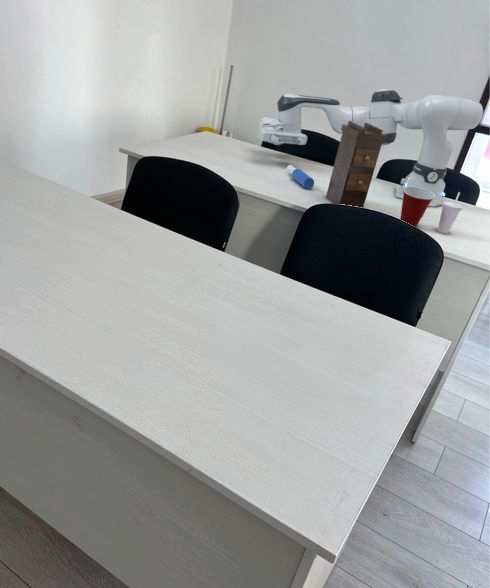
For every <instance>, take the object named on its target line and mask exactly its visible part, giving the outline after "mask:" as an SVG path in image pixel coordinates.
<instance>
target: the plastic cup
mask: <svg viewBox="0 0 490 588" xmlns="http://www.w3.org/2000/svg"><path fill="white" fill-rule="evenodd" d="M403 191H404V194H403V199H402V204H401V211H400V217H399V218H400V219H401V220H403V221H405V222H407V223H409V224H411V225H413V226H415V227H414V228H417V227H418V225H419V223H420V221H421V219H422V218H423V216H424V214H425V213H426V211H427V209H428V207H429V206H428V205H429V204H430V202H431V201H432V199H434V197H435V194H434V193H432V192H431V191H429V190H427V189H423V188H420V187H414V186H408V187H404V188H403ZM400 219H399V220H400Z"/></svg>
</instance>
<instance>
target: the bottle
mask: <svg viewBox="0 0 490 588" xmlns="http://www.w3.org/2000/svg"><path fill="white" fill-rule="evenodd" d="M287 171H288V172H287ZM286 172H287V173H288V174H290V175H291V174H292V175H291V177H292V179H293V180H294V181H295V182H297V183H298V184H299V185H300V186H302V187H303V188H304V189H306V190H311V189H312V188H313V187H314V186H315V180H314V179H313V177H311V176H310V175H309V174H307V173H306V172H304V170H302V169H300V168H296V167H295V166H293V165H292V164H288V165H287V166H286ZM295 179H296V180H295ZM301 184H302V185H301Z"/></svg>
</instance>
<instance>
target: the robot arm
mask: <svg viewBox="0 0 490 588" xmlns="http://www.w3.org/2000/svg"><path fill="white" fill-rule="evenodd" d="M401 100H404V99H403V97H401V96H400V94H399V93H398V92H397V90H395V89H391V88H381V89H378V90H377V91H373V93H372V95H371V98H370V106H366V105H365V106H364V105H353V106H351V105H350V106H348V105H347V106H346V105H343V104H341V103H340V100H338V99H335V98H330V97H322V96H313V95H311V96H310V95H302V94H295V93H290V92H289V93H285V94H282V95H281V96H280V97H279V98H278V101H277V103H276V105H277V111H278V119H277V118H275V117H273V116H264V117H262V118H261V119H260V121H259V123H258V133H257V140H258V141H261V142H266V143H270V144H273V145H275V146H280V145H283V144H289V145H299V146H304V145H306V144H307V143H308V136H307V135H306V134H304V133H302V108H311V109H312V108H313V109H321V110H322V111H323V112H324V113H325V115H326V116H327V119H328V122H329V126H330V127H331V129H332V130H333V131H334V132H335V133H337V134H339V135H342V132H343V131H342V130H341V128H342V124H344V125H348V122H349V121H352V122H354V123H356V124H358V125H360V126H362V127H364V124H365V123H369V124H371V125H373V126H375V127H377V128H379V129H381V130H383V131H382V133H383V134H385V135H387V136H386V139H385V141H383V142H382V146H381V147H384V146H388V145H390V144H392V143H394V142H395V141H396V138H397V135H398V133H397V130H398V129H397V128H398V125H399V126H400V127H402V128H404V129H408V130H415V131H416V130H417V131H418V130H422V133H423V136H422V138H423V140H422V145H421V149H420V152H419V156H418V159H417V161H416V162H415V163H414V165H413V168H412V171H411V172H410V173H409V174H407V176H405V178H403V177H402V178H401V180H400V185H402V186H400V185H399V186H396V188H395V197H396V198H399V199H401V200H403V194H404V191H403V188H404V187H408V186H414V187H420V188H423V189H427V190H429V191H431V192H432V193H434V194H435V197H434V199H432V201H431V202H430V204H429V205H428V207H437V206H442V205H443V202H444V201H443V200H442V198H443V197H445V195H446V193H445V192H444V191H445V188H446V182H445V181H444V179H445V177H446V174H447V171H448V168H447V167H448V164H449V161H450V159H451V156H452V153H453V144H452V143H451V142H450V140H449V139H448V138H447V134H448V133H447V132H448V131H467V130H473V129H475V128H477V126H479V124H480V123H481V122H482V120H483V115H484V109H483V108H484V107H483V105H482V103H481V102H478V101H476V100H474V99H472V98H471V99H470V98H468V97H467V98H466V97H458V96H451V95H445V94H431V95H426V96H424V97H423V98H421V99H417V100H416V99H415V100H412V101H409V102H402V101H401Z"/></svg>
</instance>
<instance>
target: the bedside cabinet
mask: <svg viewBox="0 0 490 588" xmlns="http://www.w3.org/2000/svg"><path fill="white" fill-rule="evenodd" d="M341 130H342V131H343V132H342V134H341V137H340V140H339V145H338V148H337V152H336V156H335V160H334V164H333V168H332V172H331V175H330V180H329V183H328V187H327V191H326V195H325V198H326V199H327V200H328V201H330V202H332V203H333V204H334V205H335V204H345V205H352V206H358V207H363V208H364V207H365V203H366V200H367V196H368V194H369V193H368V192H369V190H370V186H371V183H372V179H373V176H374V173H375V169H376V166H377V162H378V159H379V155H380V152H381V149H382V147H383V146H382V142H383V141H385V139H386V136H387V135H385V134H383V133H382V131H383V130H381V129H379V128H377V127H375V126H373V125H371V124H369V123H365V124H364V127H362V126H360V125H358V124H356V123H354V122H352V121H349V122H348V125H344V124H342V128H341Z"/></svg>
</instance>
